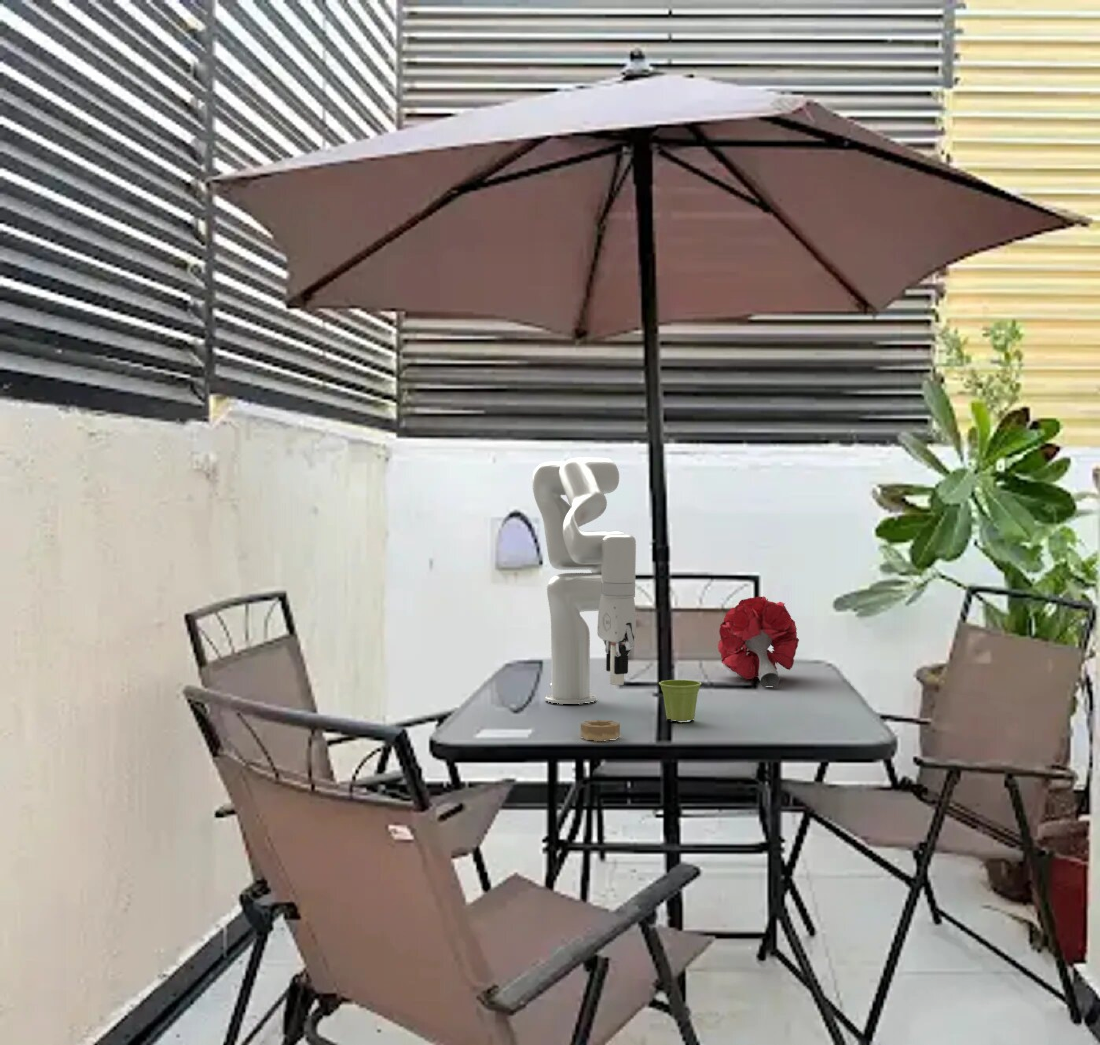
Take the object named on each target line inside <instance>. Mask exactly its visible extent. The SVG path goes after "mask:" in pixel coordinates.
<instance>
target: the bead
mask: <svg viewBox="0 0 1100 1045" xmlns="http://www.w3.org/2000/svg"><path fill="white" fill-rule="evenodd" d="M620 727H621V725H620V722H617V721H613V720H603V719H598V720H597V719H596V720H586V721H583V722H581V723H580V738H581V737H583V738H584V739H587V740H594V741H593V742H597V741H604V740H610V739H616V738H617V737H619V736H620V737H621V735H620V734H621V733H620V732H621V730H620ZM584 739H583V740H584ZM587 740H586V741H587Z"/></svg>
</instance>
